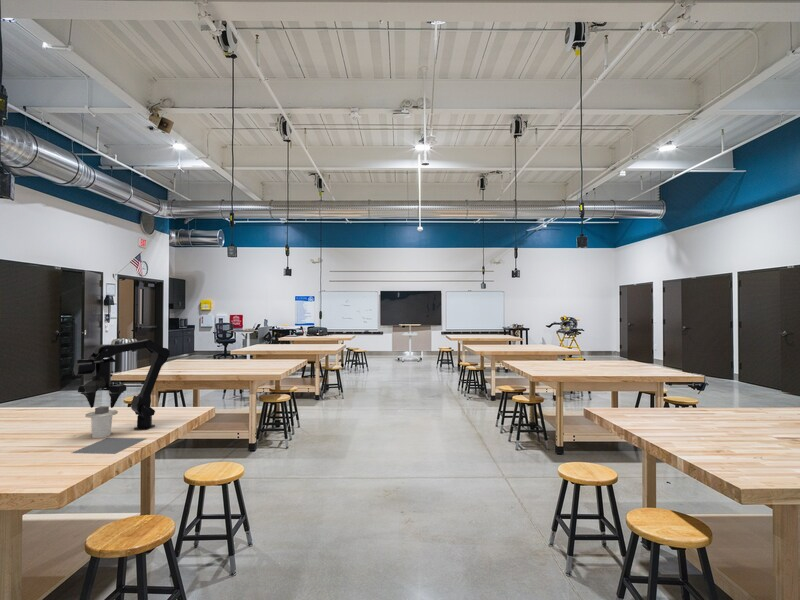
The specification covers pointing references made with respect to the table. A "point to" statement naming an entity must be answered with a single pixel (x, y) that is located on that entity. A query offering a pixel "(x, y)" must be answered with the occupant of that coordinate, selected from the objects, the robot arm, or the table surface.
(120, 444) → the charcoal mat
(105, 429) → the white cup
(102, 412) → the lid
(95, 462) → the table surface
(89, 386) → the robot arm
